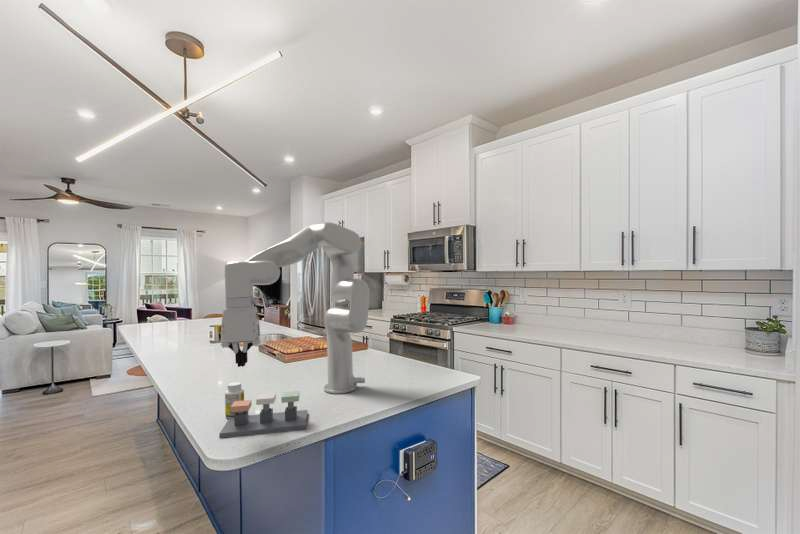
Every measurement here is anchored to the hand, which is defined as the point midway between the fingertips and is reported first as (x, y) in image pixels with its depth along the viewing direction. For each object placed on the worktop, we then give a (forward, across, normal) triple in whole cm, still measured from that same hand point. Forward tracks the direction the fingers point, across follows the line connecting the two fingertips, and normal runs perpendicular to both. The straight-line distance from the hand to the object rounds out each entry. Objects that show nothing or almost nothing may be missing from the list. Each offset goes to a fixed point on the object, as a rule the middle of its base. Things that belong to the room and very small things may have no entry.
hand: (241, 365), depth 109 cm
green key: (+14, -14, 0) cm, 20 cm away
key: (+16, 0, 0) cm, 16 cm away
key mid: (+14, -7, 0) cm, 16 cm away
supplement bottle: (+18, +4, -10) cm, 21 cm away
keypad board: (+18, -6, 0) cm, 19 cm away
